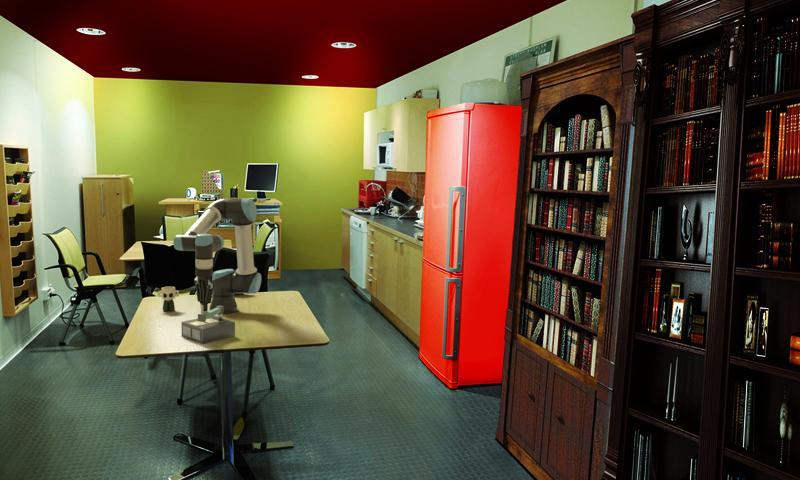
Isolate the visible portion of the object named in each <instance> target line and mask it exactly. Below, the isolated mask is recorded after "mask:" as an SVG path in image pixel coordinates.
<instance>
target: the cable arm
mask: <svg viewBox="0 0 800 480" xmlns="http://www.w3.org/2000/svg"><path fill="white" fill-rule="evenodd" d="M223 312H224V306H217V308H215V309H212V310H210V311H209V310H208V311H207V312H206V313H203V314H201V313H198V314H197V319H198V321H200V322H205V321H206V319H208V318H210V317H212V316H217V315H218V314H219V313H223Z"/></svg>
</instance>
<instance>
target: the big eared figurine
mask: <svg viewBox="0 0 800 480" xmlns="http://www.w3.org/2000/svg"><path fill="white" fill-rule="evenodd" d="M179 296H180V291H179V290H176V287H175V286H164V287H161V290H159V291H157V297H158V298H161V299H162V300H163V301H162V302H163V305H162V310H163V311H165V312H167V311H169V312H172V311H174V310H175V309H176V307H175V306H176V305H175V302H174V300H175V298H176V297H179Z"/></svg>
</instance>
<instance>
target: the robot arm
mask: <svg viewBox="0 0 800 480" xmlns="http://www.w3.org/2000/svg"><path fill="white" fill-rule="evenodd" d="M257 215H258V210H257V205H256V203H255V202H254V200H252V199H249V198H231V197H230V198H229V197H225V198H220V199H217V200H215V201H213V202H211V203H210V204H209V205H207V206H206V207H205V208H204V210H203V213H202V214H201V215H200V217H198V219H197V220H196V221H195V222H194V223H193V224H192V225H191V226H190V227H189V228H188V230H187V231H185V233H184V234H177V235H176V234H175V236H174V237H173V240H172V241H173V242H172V243H173V244H172V245H173V247H174V249H175V250H177V251H181V252H185V251H186V252H195V257H194V258H195V261H194V262H195V271H194V272H195V274H194V275H195V276H197V277H198V278H197V279H198V280H197V281H195V280H194V281H193V283H194V286H195V293H196V299H197V302H199V304H200V314H203V313H206V312H208V311H210V310H212V309H215V308H217V306H224V312H223V314H231V313H235V312H237V311H238V304H237V301H236V299H235V295H234V293H244V294H247V295H250V294H252V295H253V294H254V295H255V294H257V293H258V292H259V291H260V288H261V284H262V274H261V273H259V272H258V268H257V267H255V261H254V249H253V248H254V247H253V246H254V245H253V238H252V237H253V236H252V235H253V233H252V225H253V224H254V222H255V221H256V220H257V217H258V216H257ZM224 220H225V221H230V224H231V226H233V227H234V234H235V235H234V236H235V237H234V238H235V248H236V249H235V250H236V259H237V268H236V269H233V268H225V269H220V270H216V271H213V270H214V268H213V267H214V255H213V253H216V252H218V251H220V250H221V249H223V248H224V244H225V242H224V241H225V240H224V238H223V237H222V236H221V235H219V234H215V235H213V234H211V233H208V232H209V231H210V230H211V228H212V227H213V226H214V225H215V224H217V223H219V222H220V221H224ZM211 277H212V278H211ZM209 304H210V305H209ZM208 307H209V310H208Z"/></svg>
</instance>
